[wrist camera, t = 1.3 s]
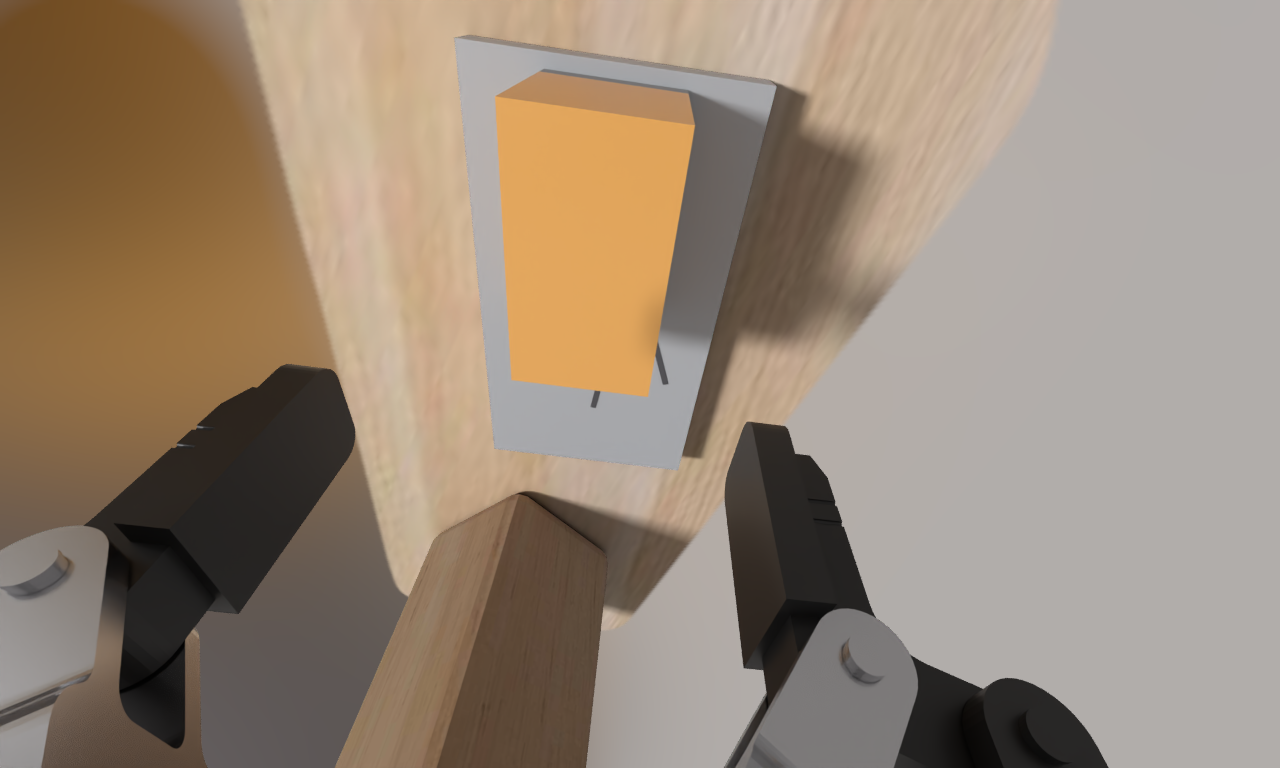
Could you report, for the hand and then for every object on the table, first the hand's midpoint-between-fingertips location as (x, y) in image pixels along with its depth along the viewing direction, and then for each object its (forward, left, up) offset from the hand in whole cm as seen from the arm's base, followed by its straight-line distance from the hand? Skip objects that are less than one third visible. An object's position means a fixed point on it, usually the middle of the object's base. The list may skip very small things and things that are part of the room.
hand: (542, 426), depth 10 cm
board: (+5, 0, -14) cm, 15 cm away
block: (+27, -4, -14) cm, 31 cm away
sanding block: (0, 0, -13) cm, 13 cm away
